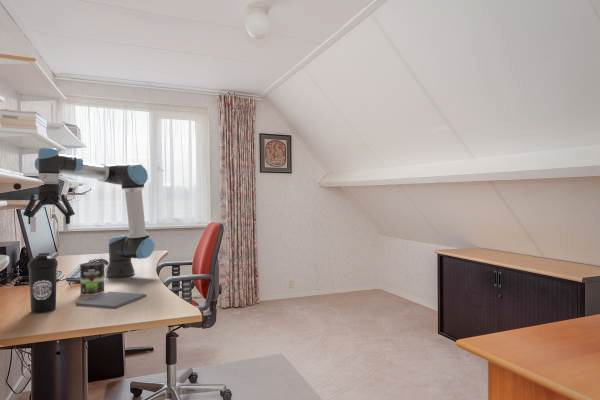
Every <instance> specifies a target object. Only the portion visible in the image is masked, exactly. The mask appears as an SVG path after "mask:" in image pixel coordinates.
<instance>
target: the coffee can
mask: <svg viewBox="0 0 600 400" xmlns="http://www.w3.org/2000/svg"><path fill="white" fill-rule="evenodd" d="M79 266H80V271H79V273H80V276H79V277H80V295H81V296H87V297H89V296H98V295H101V294H104V293H105V262H102V261H93V262H84V263H81V264H80V265H79Z"/></svg>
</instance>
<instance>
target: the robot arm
mask: <svg viewBox="0 0 600 400" xmlns="http://www.w3.org/2000/svg"><path fill="white" fill-rule="evenodd" d="M37 152H38V154H37V157H36V159H35V160H34V168H35V170H36V171H38V181H39V180H41V181H43V182H44V185H41V186H39V185H38V194H31V195H30V200H29V202H28V204H27V206H26V207H25V209H24V212H23V214H22V215H23V217H27V219H28V220H27V222H28V223H27V224H28V225H30V226H29V228H30V233H35V232H36V231H37V216H35V215H36V214H37V213H39V211H40V210H41V209H42V207H43V206H47V205H50V206H51V205H54V206H55V207H56V208H57V209H58V210H59V211H60V212H61V213H62V214H63V217H62V224H63V226H62V228H63V229H62V230H63V231H62V232H63V233H66V232H69V225H70V224H71V217H72V216H74V215H75V212H74V210H73V208H72V206H71V203H70V202H69V200H68V195H67V194H66V193H65V194H60V185H59V183H60V177H59V176H60V175H59V174H62V175H66V176H67V175H69V176H74V177H81V178H89V179H94V180H95V179H96V180H97V181H99V182H102V183H109V184H112V185H120V186H121V189H122V190H123V192H125V202H126V203H125V204H126V211H127V212H126V213H127V222H128V231H129V233H128V234H127V235H119V236H118V235H117V236H112V237H110V238H109V239H108V260H109V261H108V265H107V270H106V272H105V277H107V278H110V279H111V278H116V279H117V278H118V279H119V278H126V277H132V276H133V275H136V274H135V269H134V266H133V263H132V259H138V260H142V259H143V260H144V259H147V258H150V256H151V255H152V254H153V253H154V250H155V242H154V240H153V239H152V238H150V235H149V233H148V232H147V231H146V224H145V223H146V222H145V221H146V220H145V210H144V204H143V203H144V201H143V192H142V191H143V189H144V188H145V184H146V183H147V182H148V180H149V179H148V178H149V175H148V171H147V168H145V166H143V164H140V163H132V162H131V163H118V164H116V163H115V164H104V163H103V164H102V163H101V164H93V163H88V162H84V160H83V158H82V157H81V156H78V155H74V154H73V155H69V154H61V153H60V152H59V149H57V148H53V147H40V148H39V149H38V151H37ZM38 200H39V201H38ZM60 200H61V201H62V203H63V204H62V203H61V202H60ZM37 201H38V202H37ZM36 202H37V204H36ZM35 204H36V205H35Z"/></svg>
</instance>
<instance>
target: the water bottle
mask: <svg viewBox="0 0 600 400" xmlns="http://www.w3.org/2000/svg"><path fill="white" fill-rule="evenodd" d="M58 265H59V264H58V260H57V258H56V257H54V256H51V255H50V252H41V253H38V254H37V255H35V257H33V258H31V259H30V260H28V262H27V269H28V275H29V276H28V277H29V278H28V279H29V298H30V312H31V314H45V313H49V312H53V311H55V310H56V309H57V271H58V269H57V267H58Z"/></svg>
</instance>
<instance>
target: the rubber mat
mask: <svg viewBox="0 0 600 400" xmlns="http://www.w3.org/2000/svg"><path fill="white" fill-rule="evenodd" d="M145 297H147V293H137V292H123V291H107V292H104V293H101V294H98V295H94V296H93V297H90V298H87V299H83V300H80V301H77V302H75V306H82V307H94V308H103V309H105V308H106V309H117V308H120V307H123V306H125V305H127V304H130V303H132V302H133V303H134V302H136V301H137V300H140V299H142V298H145Z"/></svg>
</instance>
